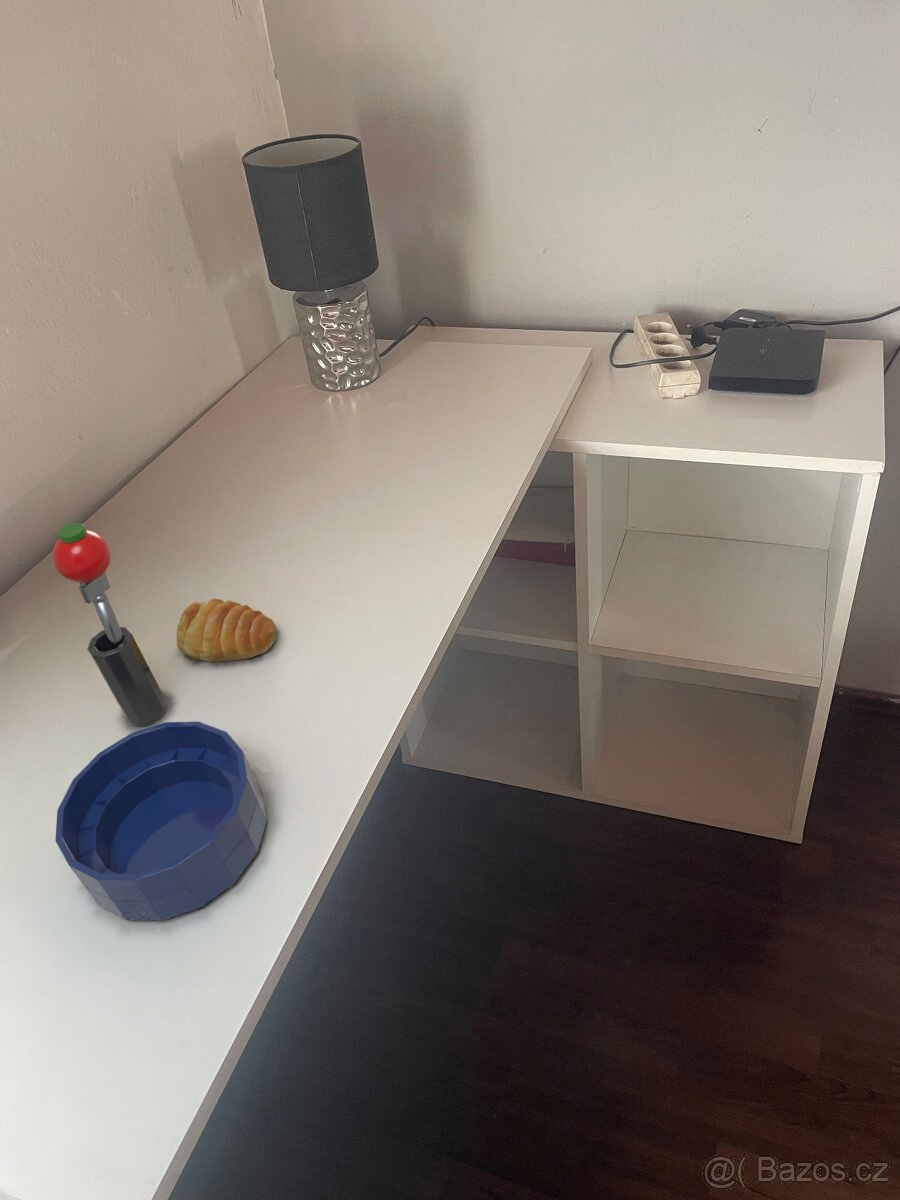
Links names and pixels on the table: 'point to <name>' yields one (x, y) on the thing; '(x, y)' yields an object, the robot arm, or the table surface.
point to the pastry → (224, 631)
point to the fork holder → (129, 678)
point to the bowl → (162, 820)
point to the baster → (88, 572)
